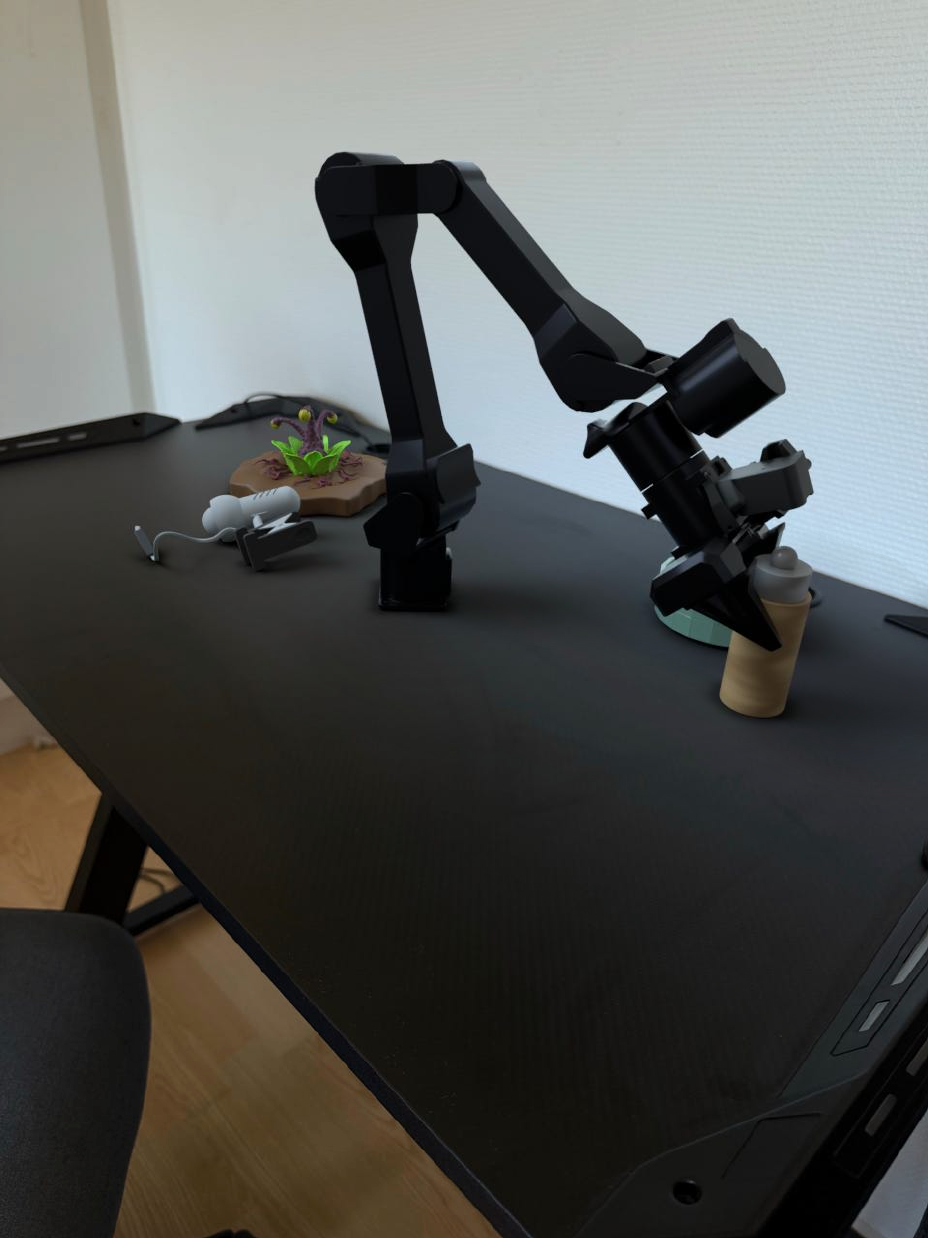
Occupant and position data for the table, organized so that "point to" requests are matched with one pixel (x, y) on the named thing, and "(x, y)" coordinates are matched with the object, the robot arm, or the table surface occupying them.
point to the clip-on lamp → (249, 526)
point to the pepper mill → (766, 676)
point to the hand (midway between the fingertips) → (785, 634)
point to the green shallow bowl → (696, 624)
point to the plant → (313, 471)
